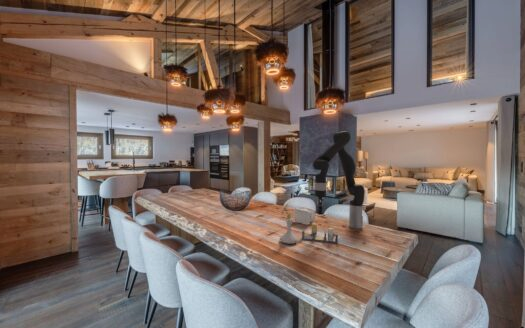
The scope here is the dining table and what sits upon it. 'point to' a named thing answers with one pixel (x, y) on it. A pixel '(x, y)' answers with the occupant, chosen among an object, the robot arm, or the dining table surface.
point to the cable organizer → (304, 215)
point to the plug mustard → (314, 228)
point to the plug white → (330, 234)
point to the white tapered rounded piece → (288, 231)
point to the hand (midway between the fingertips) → (319, 212)
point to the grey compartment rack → (319, 238)
